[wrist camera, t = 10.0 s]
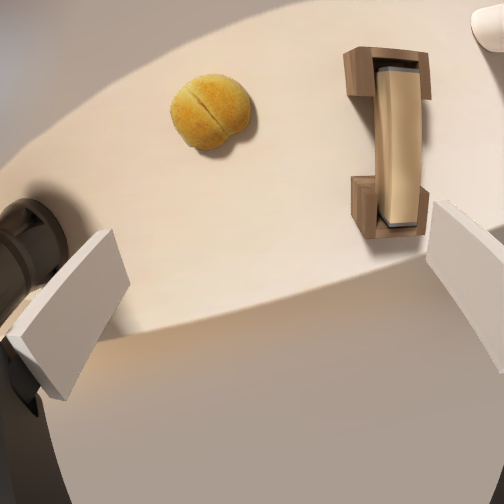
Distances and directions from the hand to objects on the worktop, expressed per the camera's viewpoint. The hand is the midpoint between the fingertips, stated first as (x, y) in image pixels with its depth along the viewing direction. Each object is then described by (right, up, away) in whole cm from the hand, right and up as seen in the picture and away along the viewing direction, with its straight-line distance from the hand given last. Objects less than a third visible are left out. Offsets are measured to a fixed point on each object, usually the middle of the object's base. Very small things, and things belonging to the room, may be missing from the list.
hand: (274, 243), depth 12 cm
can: (+30, +29, +12) cm, 44 cm away
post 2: (+15, +7, +25) cm, 30 cm away
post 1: (+13, +20, +18) cm, 30 cm away
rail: (+14, +12, +19) cm, 26 cm away
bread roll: (-6, +16, +22) cm, 28 cm away
